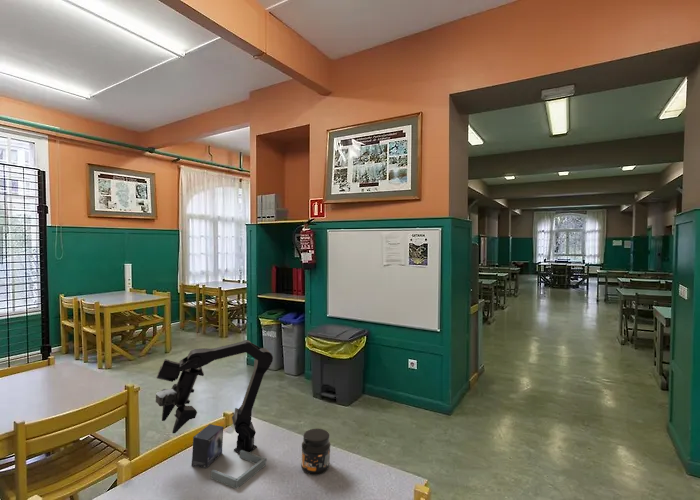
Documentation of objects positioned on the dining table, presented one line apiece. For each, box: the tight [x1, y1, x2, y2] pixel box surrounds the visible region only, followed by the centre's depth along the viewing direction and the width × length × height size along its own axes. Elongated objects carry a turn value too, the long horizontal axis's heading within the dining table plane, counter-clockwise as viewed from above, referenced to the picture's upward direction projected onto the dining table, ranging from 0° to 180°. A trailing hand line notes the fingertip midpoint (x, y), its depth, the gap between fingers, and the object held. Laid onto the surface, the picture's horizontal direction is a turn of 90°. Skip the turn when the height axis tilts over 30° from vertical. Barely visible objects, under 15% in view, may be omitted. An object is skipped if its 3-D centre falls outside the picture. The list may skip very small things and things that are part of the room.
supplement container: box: [300, 428, 331, 476], centre depth 131 cm, size 10×10×12 cm
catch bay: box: [210, 450, 267, 490], centre depth 127 cm, size 15×12×2 cm
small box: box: [191, 423, 224, 469], centre depth 134 cm, size 11×6×10 cm, turn 168°
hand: (168, 426), depth 130 cm, fingers open, 9 cm apart
